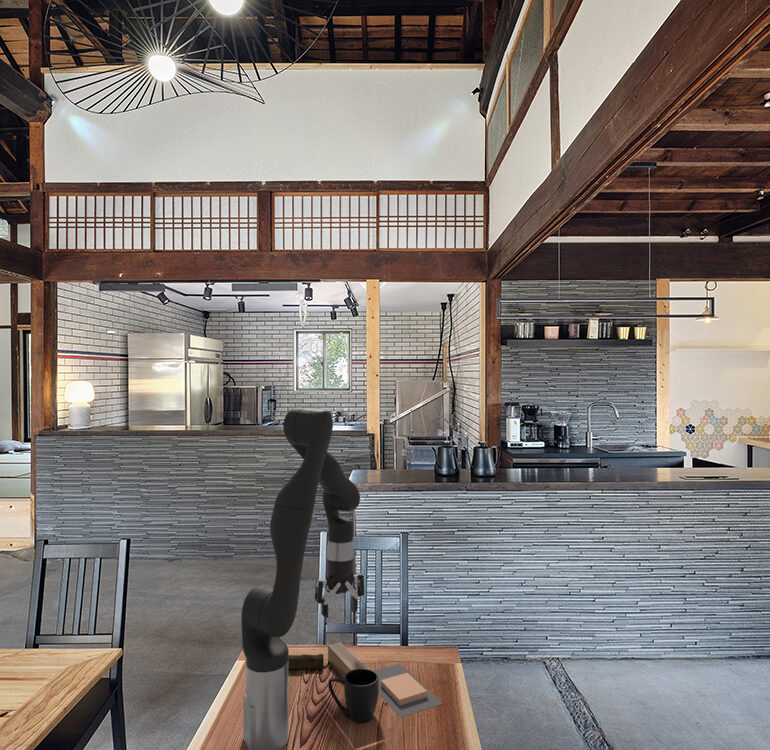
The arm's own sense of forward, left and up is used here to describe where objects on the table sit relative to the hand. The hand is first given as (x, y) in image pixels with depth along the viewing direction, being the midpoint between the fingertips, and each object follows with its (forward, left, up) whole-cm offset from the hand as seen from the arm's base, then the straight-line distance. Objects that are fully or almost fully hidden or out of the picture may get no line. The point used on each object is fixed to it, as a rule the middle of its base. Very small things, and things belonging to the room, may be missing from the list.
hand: (339, 614), depth 152 cm
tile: (+9, -15, -13) cm, 22 cm away
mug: (-6, -23, -15) cm, 28 cm away
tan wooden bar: (0, -5, -15) cm, 16 cm away
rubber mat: (+9, -18, -15) cm, 25 cm away
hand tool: (-13, +5, -15) cm, 21 cm away
